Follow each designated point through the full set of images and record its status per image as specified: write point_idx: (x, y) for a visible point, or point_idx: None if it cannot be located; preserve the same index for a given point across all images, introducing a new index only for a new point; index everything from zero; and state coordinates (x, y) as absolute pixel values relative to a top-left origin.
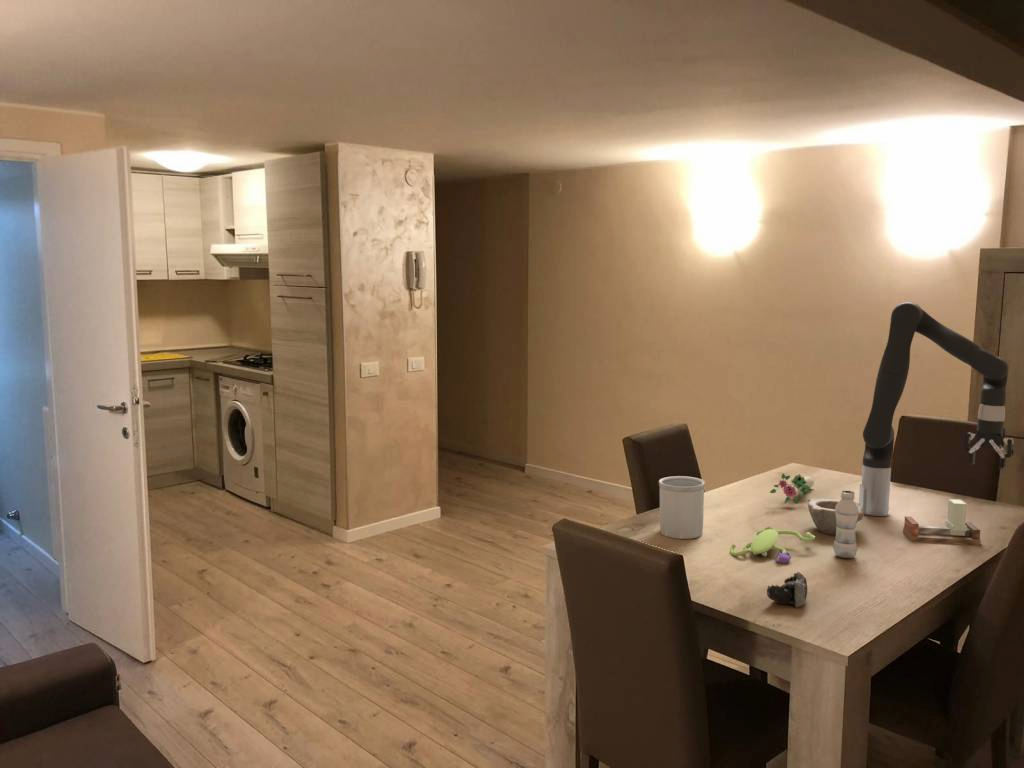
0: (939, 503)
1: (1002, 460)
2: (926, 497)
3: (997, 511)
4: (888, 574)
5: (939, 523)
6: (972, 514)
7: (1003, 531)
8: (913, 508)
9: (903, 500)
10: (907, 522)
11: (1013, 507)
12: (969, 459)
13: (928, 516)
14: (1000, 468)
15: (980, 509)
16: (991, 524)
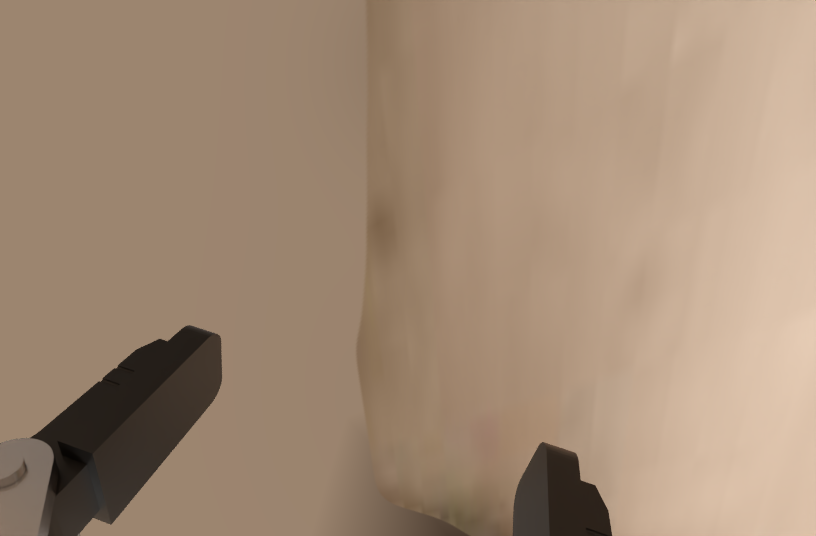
0: (638, 474)
1: (90, 422)
2: (685, 532)
3: (423, 438)
4: None
5: (684, 147)
6: (509, 373)
7: (373, 167)
8: (788, 371)
9: (812, 476)
10: None
11: (382, 492)
12: (599, 529)
13: (729, 261)
14: (192, 328)
15: (481, 444)
16: (429, 259)
